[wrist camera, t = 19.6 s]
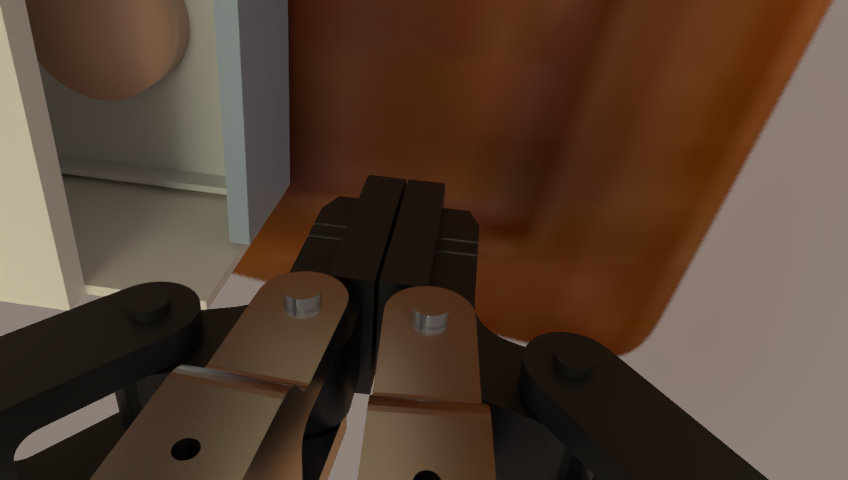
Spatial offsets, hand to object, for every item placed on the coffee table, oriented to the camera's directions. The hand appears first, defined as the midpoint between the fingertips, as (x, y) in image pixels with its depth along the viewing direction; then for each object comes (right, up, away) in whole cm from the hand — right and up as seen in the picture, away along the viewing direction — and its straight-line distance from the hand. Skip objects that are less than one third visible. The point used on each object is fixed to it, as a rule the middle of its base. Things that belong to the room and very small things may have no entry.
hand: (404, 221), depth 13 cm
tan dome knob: (-12, +9, +13) cm, 20 cm away
